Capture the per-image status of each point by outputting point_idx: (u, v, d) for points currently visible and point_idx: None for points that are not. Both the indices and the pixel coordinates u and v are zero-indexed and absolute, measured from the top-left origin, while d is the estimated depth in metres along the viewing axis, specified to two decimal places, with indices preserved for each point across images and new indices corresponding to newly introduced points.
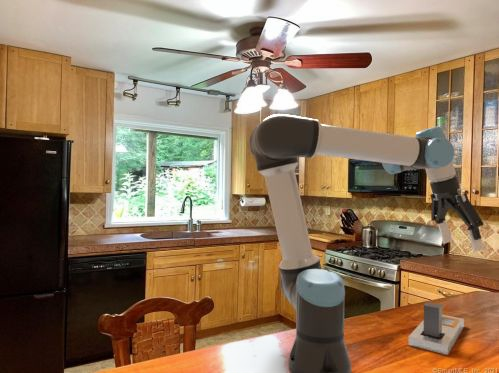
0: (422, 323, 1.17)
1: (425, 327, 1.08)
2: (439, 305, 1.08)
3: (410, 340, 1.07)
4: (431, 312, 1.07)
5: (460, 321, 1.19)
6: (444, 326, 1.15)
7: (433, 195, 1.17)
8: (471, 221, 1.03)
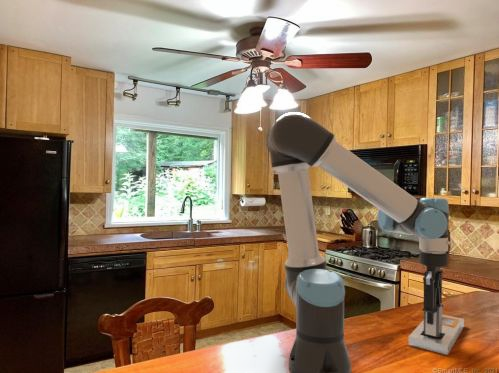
0: (422, 323, 1.17)
1: None
2: (439, 305, 1.08)
3: (410, 340, 1.07)
4: None
5: (460, 321, 1.19)
6: (444, 326, 1.15)
7: None
8: (424, 303, 1.05)
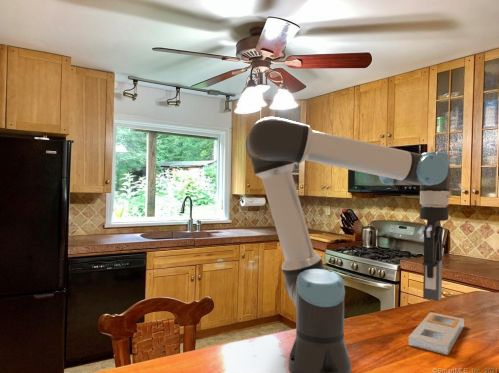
0: (422, 323, 1.17)
1: None
2: (439, 260, 1.08)
3: (410, 340, 1.07)
4: None
5: (460, 321, 1.19)
6: (444, 326, 1.15)
7: None
8: (424, 257, 1.05)
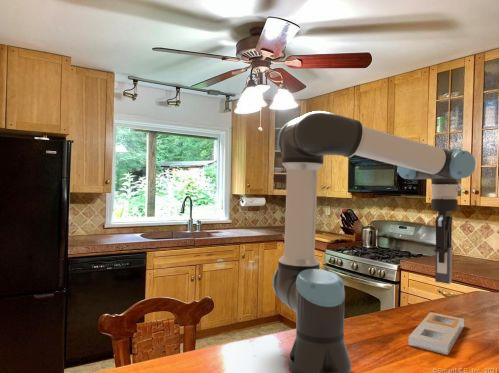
0: (422, 323, 1.17)
1: None
2: (449, 247, 1.19)
3: (410, 340, 1.07)
4: None
5: (460, 321, 1.19)
6: (444, 326, 1.15)
7: None
8: (436, 244, 1.16)
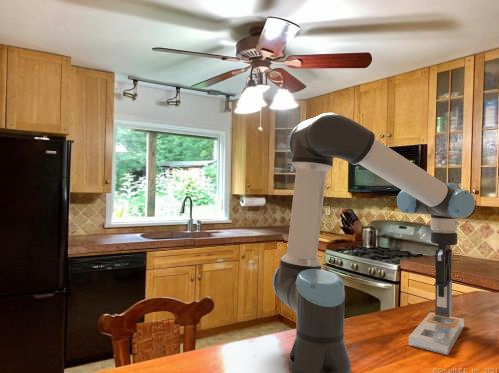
0: (422, 323, 1.17)
1: None
2: (449, 280, 1.19)
3: (410, 340, 1.07)
4: None
5: (460, 321, 1.19)
6: (444, 326, 1.15)
7: None
8: None
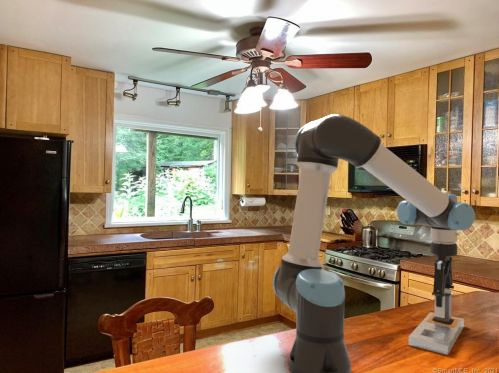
0: (422, 323, 1.17)
1: None
2: (449, 294, 1.19)
3: (410, 340, 1.07)
4: None
5: (460, 321, 1.19)
6: (444, 326, 1.15)
7: None
8: (433, 288, 1.14)
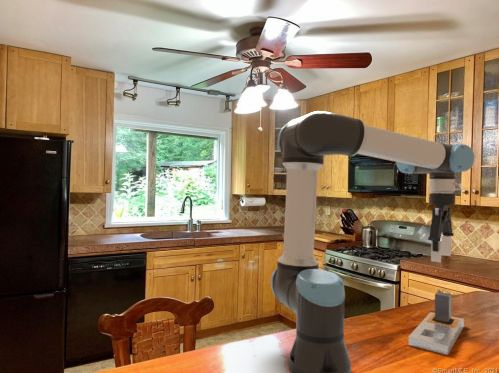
0: (422, 323, 1.17)
1: (436, 314, 1.19)
2: (449, 294, 1.19)
3: (410, 340, 1.07)
4: (442, 300, 1.18)
5: (460, 321, 1.19)
6: (444, 326, 1.15)
7: None
8: None
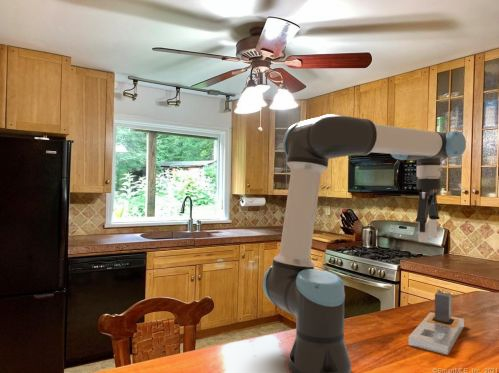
0: (422, 323, 1.17)
1: (436, 314, 1.19)
2: (449, 294, 1.19)
3: (410, 340, 1.07)
4: (442, 300, 1.18)
5: (460, 321, 1.19)
6: (444, 326, 1.15)
7: None
8: None
